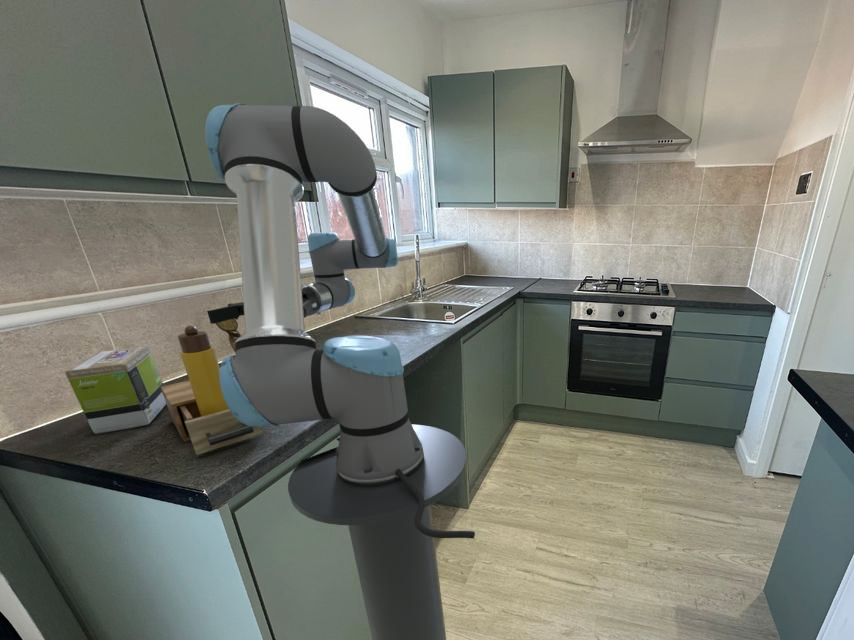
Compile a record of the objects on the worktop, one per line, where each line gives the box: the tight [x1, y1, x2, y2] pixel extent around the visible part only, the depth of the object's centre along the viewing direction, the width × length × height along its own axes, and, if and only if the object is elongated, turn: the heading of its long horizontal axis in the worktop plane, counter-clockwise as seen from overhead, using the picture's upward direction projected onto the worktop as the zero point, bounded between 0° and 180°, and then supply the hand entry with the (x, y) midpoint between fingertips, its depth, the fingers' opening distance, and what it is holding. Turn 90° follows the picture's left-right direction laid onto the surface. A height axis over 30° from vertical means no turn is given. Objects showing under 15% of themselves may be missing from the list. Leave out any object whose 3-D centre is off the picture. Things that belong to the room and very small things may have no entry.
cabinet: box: [161, 380, 196, 443], centre depth 91 cm, size 14×12×8 cm
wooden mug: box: [214, 318, 243, 353], centre depth 122 cm, size 9×14×18 cm, turn 70°
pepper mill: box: [177, 325, 229, 417], centre depth 80 cm, size 5×5×22 cm
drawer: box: [178, 402, 263, 456], centre depth 83 cm, size 18×11×7 cm, turn 45°
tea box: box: [64, 345, 167, 435], centre depth 94 cm, size 15×10×15 cm, turn 23°
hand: (235, 318), depth 86 cm, fingers open, 13 cm apart
